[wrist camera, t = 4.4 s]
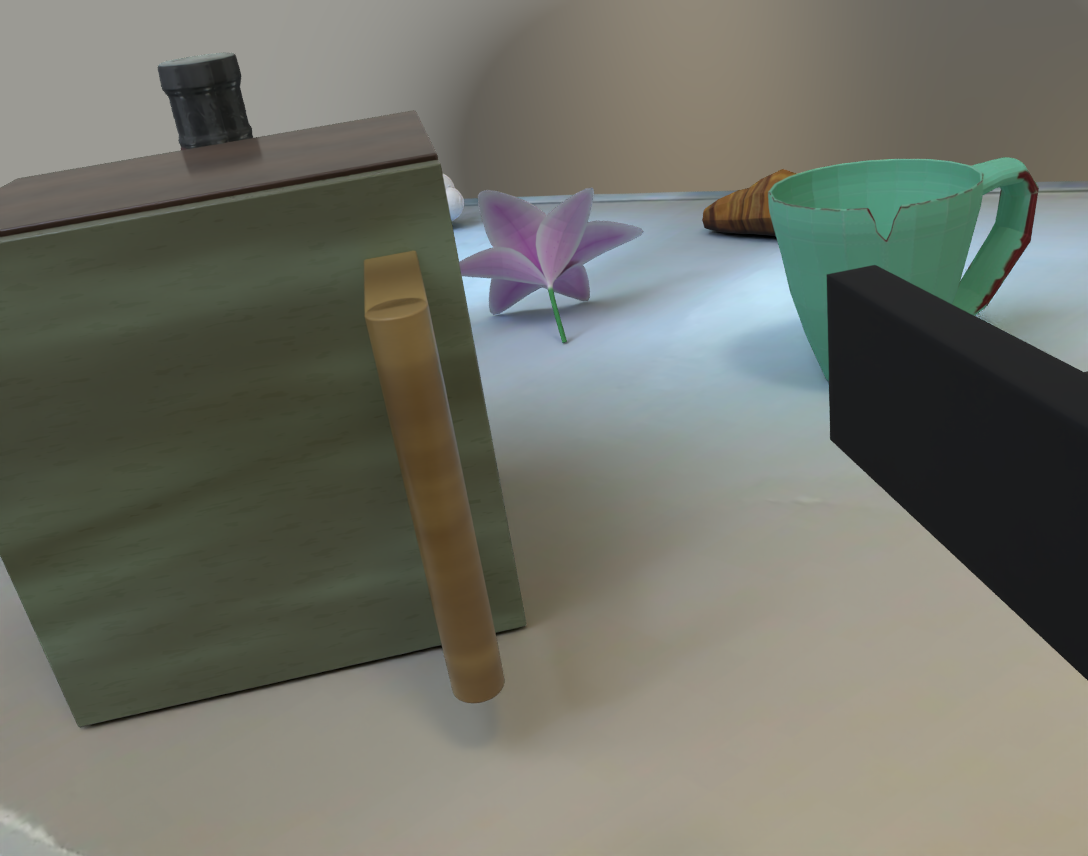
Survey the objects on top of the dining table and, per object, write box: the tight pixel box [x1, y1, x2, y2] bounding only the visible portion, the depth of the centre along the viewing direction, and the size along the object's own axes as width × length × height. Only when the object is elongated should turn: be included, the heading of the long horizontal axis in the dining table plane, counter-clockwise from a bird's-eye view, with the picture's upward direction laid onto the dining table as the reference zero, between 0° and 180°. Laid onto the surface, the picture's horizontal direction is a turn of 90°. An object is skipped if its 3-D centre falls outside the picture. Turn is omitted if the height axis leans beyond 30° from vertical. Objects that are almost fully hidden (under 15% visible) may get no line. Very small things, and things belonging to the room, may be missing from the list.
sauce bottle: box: [158, 53, 253, 150], centre depth 55 cm, size 6×6×20 cm
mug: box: [768, 157, 1039, 382], centre depth 49 cm, size 15×10×10 cm
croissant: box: [702, 169, 796, 236], centre depth 75 cm, size 14×7×5 cm, turn 61°
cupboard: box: [0, 111, 438, 237], centre depth 37 cm, size 12×16×17 cm
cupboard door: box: [0, 160, 526, 727], centre depth 28 cm, size 7×16×17 cm, turn 100°
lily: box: [459, 188, 644, 343], centre depth 63 cm, size 12×12×10 cm
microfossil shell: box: [443, 174, 464, 222], centre depth 93 cm, size 4×5×6 cm
